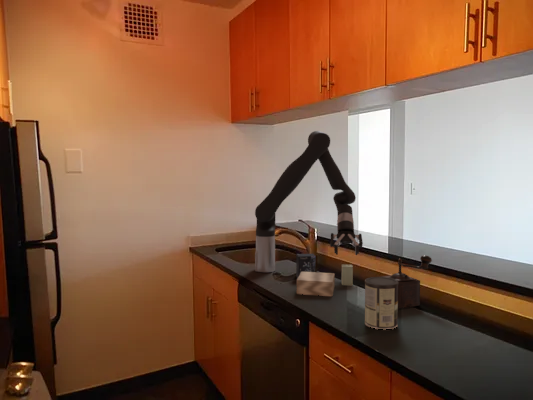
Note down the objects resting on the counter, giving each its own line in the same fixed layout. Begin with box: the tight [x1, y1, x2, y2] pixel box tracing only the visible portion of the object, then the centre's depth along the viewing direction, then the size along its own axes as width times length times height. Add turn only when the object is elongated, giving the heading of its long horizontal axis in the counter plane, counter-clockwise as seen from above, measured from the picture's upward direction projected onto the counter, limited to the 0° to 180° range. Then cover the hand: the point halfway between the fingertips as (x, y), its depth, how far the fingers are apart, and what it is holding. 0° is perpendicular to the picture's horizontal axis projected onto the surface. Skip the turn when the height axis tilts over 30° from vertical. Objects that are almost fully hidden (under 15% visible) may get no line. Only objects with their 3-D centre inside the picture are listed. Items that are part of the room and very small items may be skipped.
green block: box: [340, 263, 354, 286], centre depth 179 cm, size 4×4×8 cm
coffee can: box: [364, 276, 399, 331], centre depth 132 cm, size 10×10×14 cm
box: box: [295, 253, 317, 279], centre depth 189 cm, size 8×6×11 cm
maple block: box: [296, 271, 336, 297], centre depth 170 cm, size 14×14×6 cm
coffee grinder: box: [381, 254, 433, 310], centre depth 153 cm, size 16×11×18 cm
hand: (346, 254), depth 184 cm, fingers open, 8 cm apart
